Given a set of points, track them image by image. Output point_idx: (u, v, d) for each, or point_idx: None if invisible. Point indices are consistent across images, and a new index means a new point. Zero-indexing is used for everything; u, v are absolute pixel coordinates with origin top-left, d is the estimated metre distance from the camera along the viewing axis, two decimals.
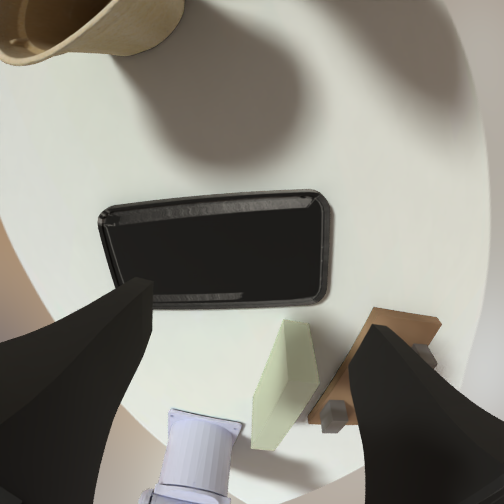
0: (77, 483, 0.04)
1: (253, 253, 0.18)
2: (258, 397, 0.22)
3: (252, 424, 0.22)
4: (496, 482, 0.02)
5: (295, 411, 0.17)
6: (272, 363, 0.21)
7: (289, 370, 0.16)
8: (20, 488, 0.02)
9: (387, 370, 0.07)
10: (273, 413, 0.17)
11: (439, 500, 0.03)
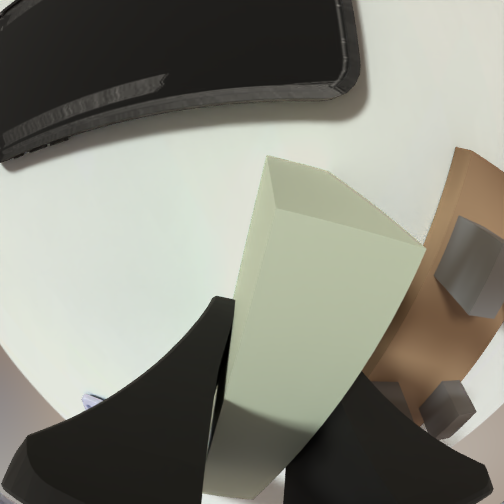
0: None
1: None
2: None
3: None
4: None
5: (312, 407, 0.04)
6: (241, 272, 0.08)
7: (283, 194, 0.04)
8: None
9: None
10: (230, 415, 0.05)
11: None
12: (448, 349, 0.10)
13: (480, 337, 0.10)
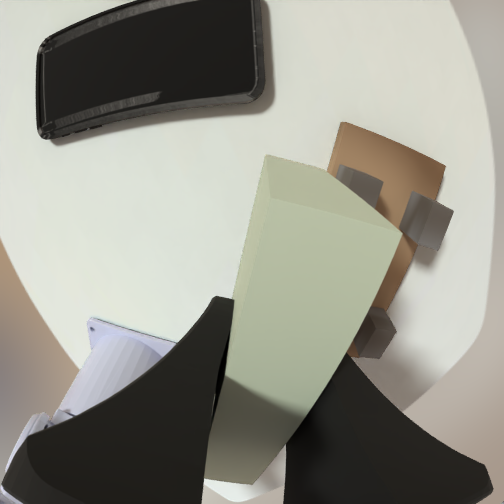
0: None
1: (174, 43, 0.12)
2: None
3: None
4: None
5: (305, 382, 0.05)
6: (242, 263, 0.09)
7: (278, 187, 0.04)
8: None
9: None
10: (230, 389, 0.05)
11: None
12: None
13: (391, 266, 0.17)
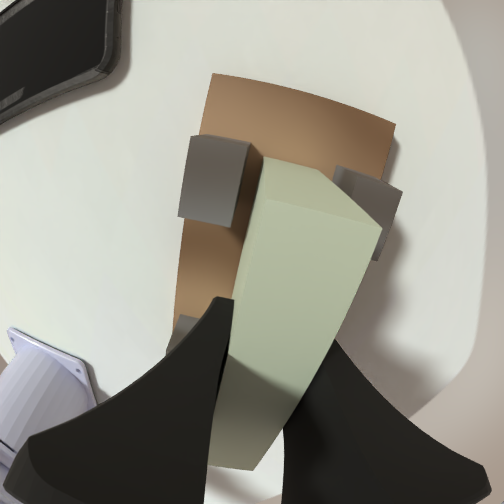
0: None
1: (38, 33, 0.07)
2: None
3: None
4: None
5: (300, 364, 0.06)
6: (242, 257, 0.10)
7: (273, 189, 0.05)
8: None
9: None
10: (232, 371, 0.06)
11: None
12: None
13: None
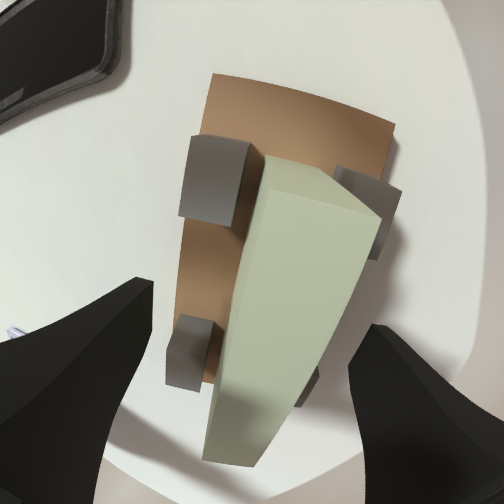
0: (77, 483, 0.04)
1: (38, 33, 0.07)
2: (221, 350, 0.11)
3: (210, 409, 0.11)
4: (496, 482, 0.02)
5: (302, 354, 0.06)
6: (244, 253, 0.10)
7: (277, 181, 0.05)
8: (20, 488, 0.02)
9: (387, 370, 0.07)
10: (235, 362, 0.06)
11: (439, 500, 0.03)
12: None
13: None
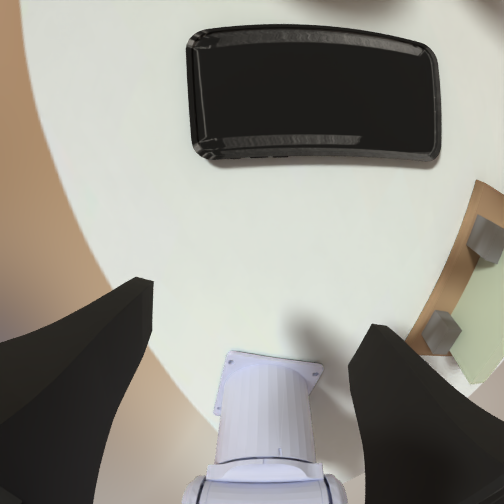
0: (77, 483, 0.04)
1: (374, 89, 0.13)
2: (463, 325, 0.17)
3: (459, 359, 0.16)
4: (496, 482, 0.02)
5: None
6: (488, 274, 0.15)
7: None
8: (20, 488, 0.02)
9: (387, 370, 0.07)
10: None
11: (439, 500, 0.03)
12: None
13: None
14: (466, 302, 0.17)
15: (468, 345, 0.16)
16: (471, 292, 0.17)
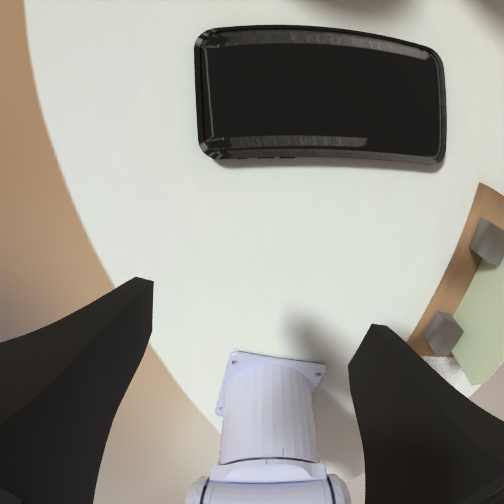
0: (77, 483, 0.04)
1: (380, 92, 0.13)
2: (464, 327, 0.17)
3: (460, 360, 0.16)
4: (496, 482, 0.02)
5: None
6: (490, 276, 0.15)
7: None
8: (20, 488, 0.02)
9: (387, 370, 0.07)
10: None
11: (439, 500, 0.03)
12: None
13: None
14: (468, 304, 0.17)
15: (470, 346, 0.16)
16: (473, 294, 0.17)
